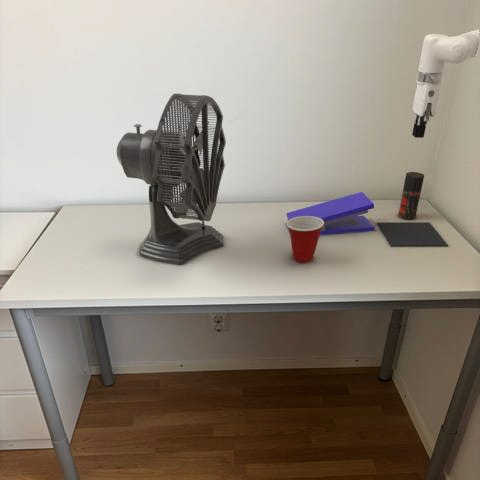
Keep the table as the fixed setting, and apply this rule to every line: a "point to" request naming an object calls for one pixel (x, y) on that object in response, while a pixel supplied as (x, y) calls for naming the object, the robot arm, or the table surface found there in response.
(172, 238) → the desk fan
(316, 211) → the stapler
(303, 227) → the plastic cup
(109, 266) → the table surface
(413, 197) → the deodorant
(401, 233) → the mat
